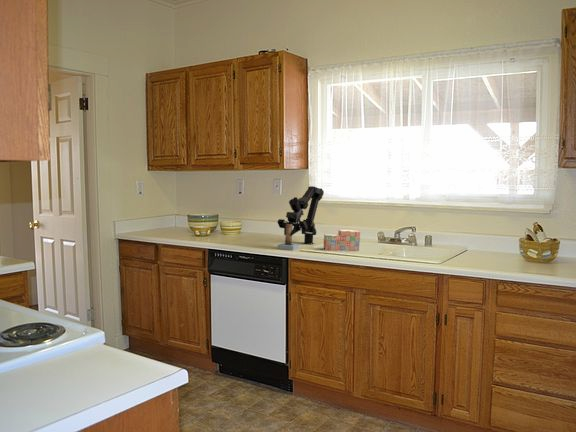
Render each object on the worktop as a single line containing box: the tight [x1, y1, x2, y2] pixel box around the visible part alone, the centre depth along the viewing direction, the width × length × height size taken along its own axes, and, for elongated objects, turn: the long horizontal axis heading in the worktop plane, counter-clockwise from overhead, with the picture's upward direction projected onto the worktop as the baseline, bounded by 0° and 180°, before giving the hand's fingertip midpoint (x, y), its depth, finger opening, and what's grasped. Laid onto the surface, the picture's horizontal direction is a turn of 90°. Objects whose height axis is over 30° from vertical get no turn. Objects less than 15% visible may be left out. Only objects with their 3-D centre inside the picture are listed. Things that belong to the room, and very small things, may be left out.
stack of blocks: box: [323, 229, 361, 252], centre depth 321 cm, size 21×6×12 cm, turn 98°
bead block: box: [277, 242, 300, 251], centre depth 317 cm, size 10×10×2 cm
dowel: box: [284, 224, 293, 245], centre depth 316 cm, size 4×4×13 cm
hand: (287, 235), depth 315 cm, fingers closed on dowel, 4 cm apart
